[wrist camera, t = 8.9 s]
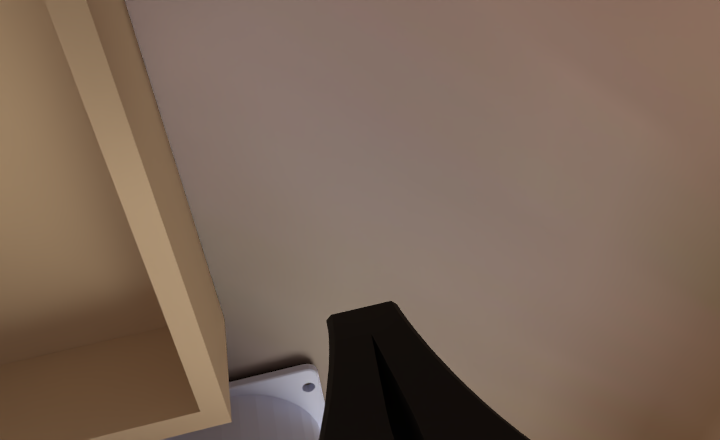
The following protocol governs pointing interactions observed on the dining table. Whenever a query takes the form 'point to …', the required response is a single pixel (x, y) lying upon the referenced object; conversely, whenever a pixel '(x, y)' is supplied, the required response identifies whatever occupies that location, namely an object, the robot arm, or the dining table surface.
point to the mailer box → (96, 241)
